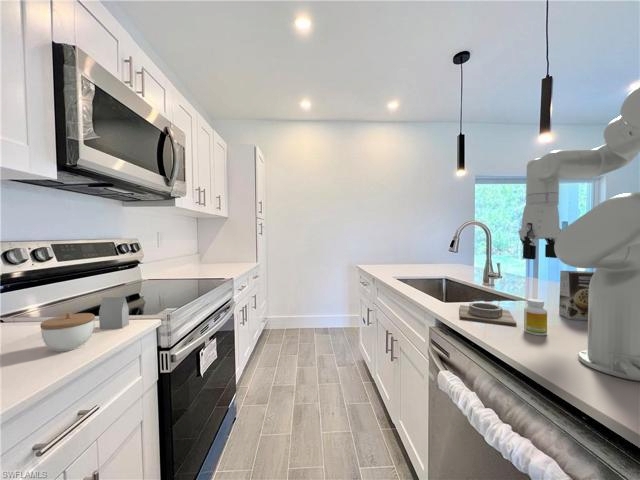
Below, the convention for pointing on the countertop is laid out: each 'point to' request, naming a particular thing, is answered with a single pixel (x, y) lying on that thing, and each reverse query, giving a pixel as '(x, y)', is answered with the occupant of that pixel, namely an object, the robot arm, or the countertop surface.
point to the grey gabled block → (113, 313)
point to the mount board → (486, 314)
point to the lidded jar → (67, 331)
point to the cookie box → (574, 294)
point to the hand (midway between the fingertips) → (540, 258)
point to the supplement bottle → (535, 317)
